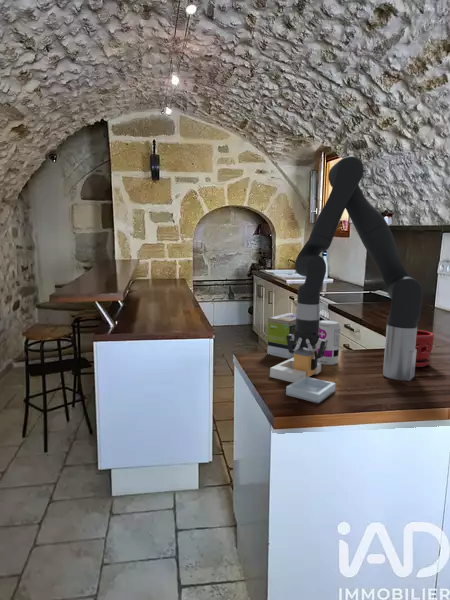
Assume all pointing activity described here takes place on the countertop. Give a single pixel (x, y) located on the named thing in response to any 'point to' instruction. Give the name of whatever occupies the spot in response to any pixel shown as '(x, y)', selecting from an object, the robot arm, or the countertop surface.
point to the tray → (310, 389)
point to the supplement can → (329, 341)
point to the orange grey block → (303, 361)
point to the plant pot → (423, 347)
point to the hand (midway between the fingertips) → (305, 367)
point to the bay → (289, 371)
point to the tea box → (281, 334)
